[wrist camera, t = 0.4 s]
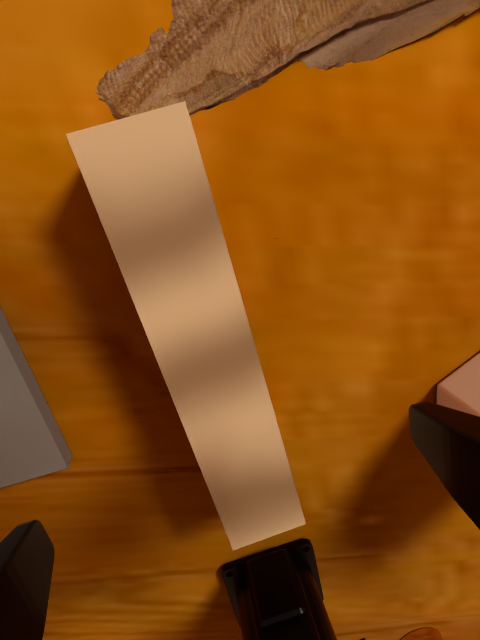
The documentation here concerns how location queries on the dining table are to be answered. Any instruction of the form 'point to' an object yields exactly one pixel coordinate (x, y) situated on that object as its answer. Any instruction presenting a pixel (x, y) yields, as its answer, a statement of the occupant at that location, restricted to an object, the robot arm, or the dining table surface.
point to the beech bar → (191, 311)
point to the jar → (462, 388)
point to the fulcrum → (25, 419)
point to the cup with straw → (424, 634)
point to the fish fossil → (262, 46)
